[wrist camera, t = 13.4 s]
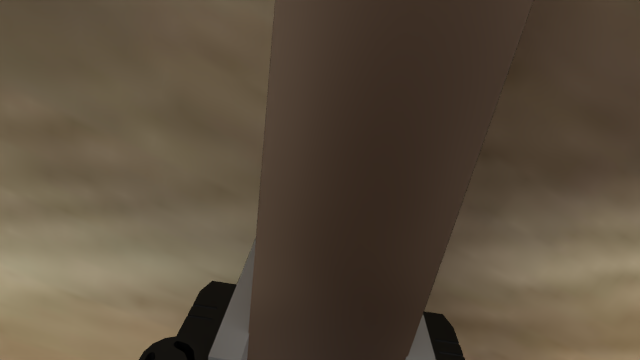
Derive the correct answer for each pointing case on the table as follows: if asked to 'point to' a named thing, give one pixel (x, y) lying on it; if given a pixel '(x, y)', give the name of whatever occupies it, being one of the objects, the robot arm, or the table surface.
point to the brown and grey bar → (368, 165)
